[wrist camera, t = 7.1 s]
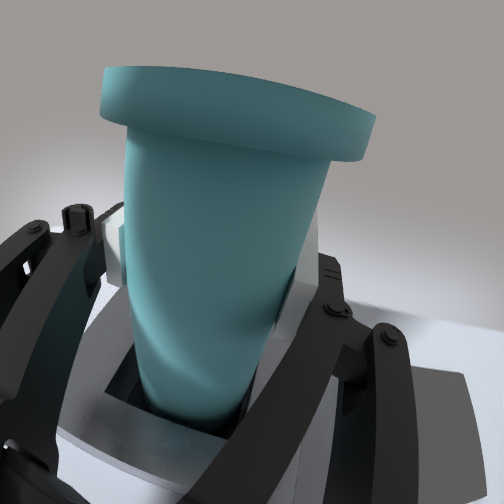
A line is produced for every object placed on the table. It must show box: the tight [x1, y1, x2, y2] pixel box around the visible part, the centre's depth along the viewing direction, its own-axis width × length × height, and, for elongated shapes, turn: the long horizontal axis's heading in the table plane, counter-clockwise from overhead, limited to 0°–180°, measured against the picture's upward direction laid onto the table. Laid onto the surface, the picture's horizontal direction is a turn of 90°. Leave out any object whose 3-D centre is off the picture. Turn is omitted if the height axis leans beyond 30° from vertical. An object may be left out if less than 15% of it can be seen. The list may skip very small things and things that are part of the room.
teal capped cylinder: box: [100, 66, 376, 433], centre depth 11 cm, size 8×8×16 cm
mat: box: [411, 367, 487, 504], centre depth 15 cm, size 14×14×1 cm
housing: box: [56, 284, 302, 504], centre depth 15 cm, size 13×13×4 cm
